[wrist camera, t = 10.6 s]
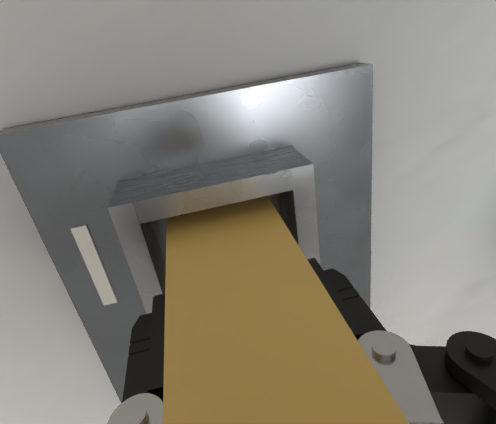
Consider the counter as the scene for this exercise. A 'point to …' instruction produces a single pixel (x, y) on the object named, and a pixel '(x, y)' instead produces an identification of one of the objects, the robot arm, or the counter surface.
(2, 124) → the counter surface
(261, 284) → the plug
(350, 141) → the panel
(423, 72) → the counter surface
